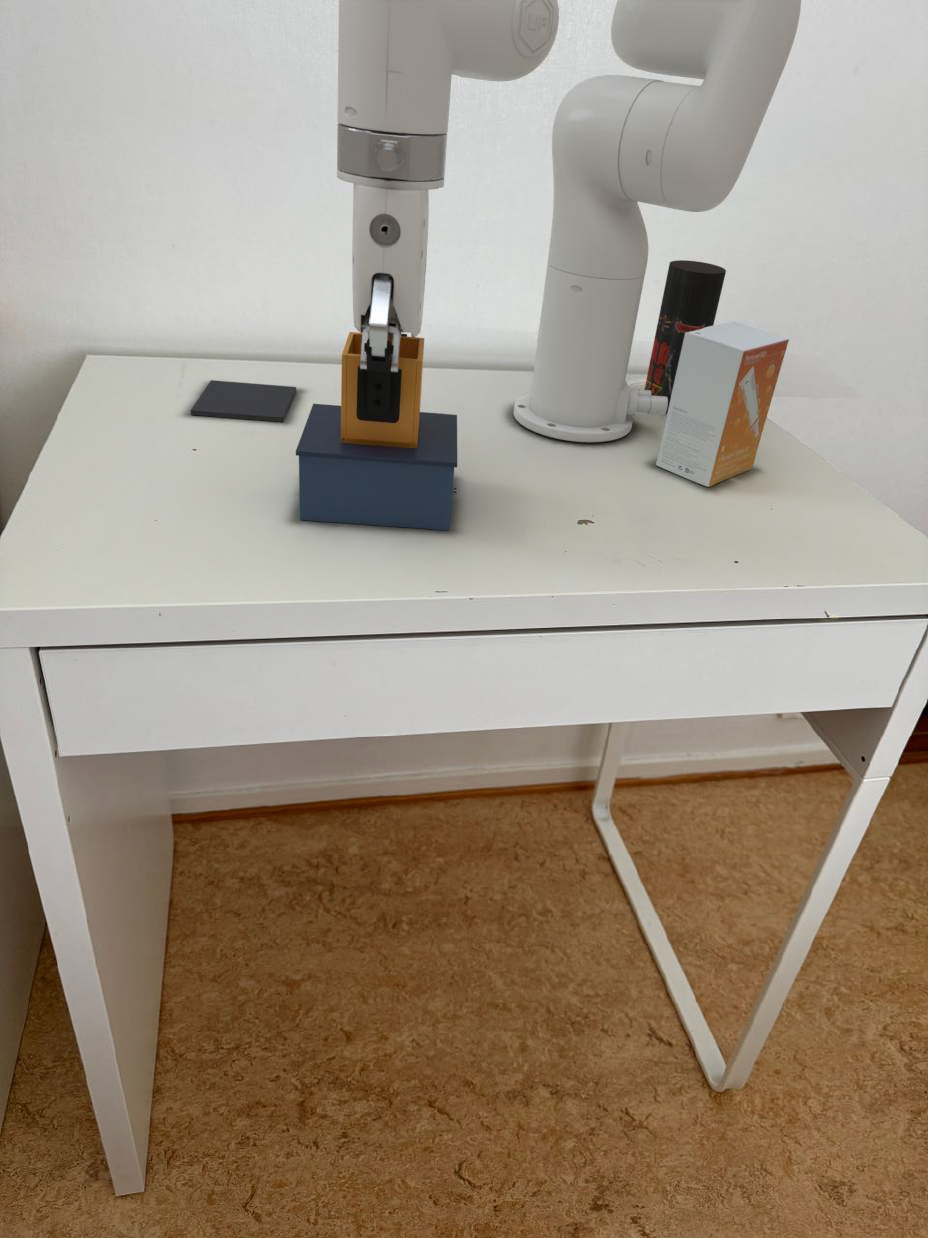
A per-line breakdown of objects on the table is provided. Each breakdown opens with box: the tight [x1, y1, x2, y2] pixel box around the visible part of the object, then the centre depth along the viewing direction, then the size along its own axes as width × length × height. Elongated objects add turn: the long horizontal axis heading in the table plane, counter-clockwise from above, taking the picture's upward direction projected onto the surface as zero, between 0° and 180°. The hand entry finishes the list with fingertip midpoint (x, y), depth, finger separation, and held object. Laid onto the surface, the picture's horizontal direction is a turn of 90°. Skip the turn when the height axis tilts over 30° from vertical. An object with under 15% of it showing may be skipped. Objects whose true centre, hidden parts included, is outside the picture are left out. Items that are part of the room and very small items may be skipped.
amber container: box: [340, 331, 425, 448], centre depth 72 cm, size 6×6×7 cm
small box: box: [655, 321, 790, 488], centre depth 86 cm, size 8×6×13 cm
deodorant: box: [643, 259, 727, 413], centre depth 100 cm, size 6×6×15 cm
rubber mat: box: [190, 379, 297, 423], centre depth 93 cm, size 9×9×1 cm
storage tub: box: [295, 403, 458, 531], centre depth 76 cm, size 12×10×6 cm
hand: (381, 398), depth 73 cm, fingers open, 8 cm apart
